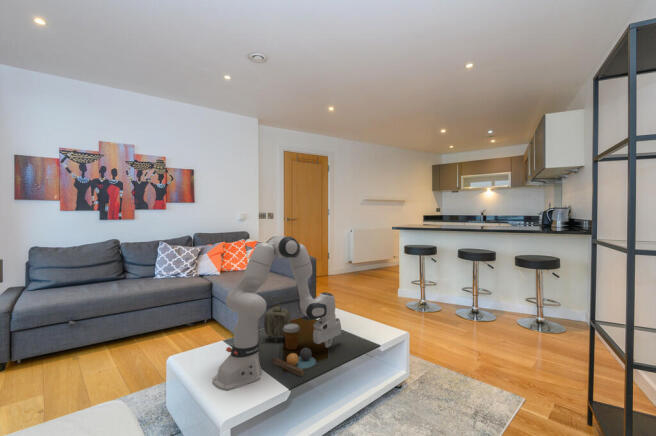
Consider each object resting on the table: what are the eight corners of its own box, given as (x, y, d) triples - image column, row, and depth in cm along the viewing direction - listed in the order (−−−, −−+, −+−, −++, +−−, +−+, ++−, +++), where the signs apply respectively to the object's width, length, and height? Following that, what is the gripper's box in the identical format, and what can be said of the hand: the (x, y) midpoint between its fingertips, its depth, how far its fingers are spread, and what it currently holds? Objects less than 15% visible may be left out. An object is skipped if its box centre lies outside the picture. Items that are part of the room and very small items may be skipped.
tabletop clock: (290, 337, 192) (290, 297, 192) (287, 343, 183) (286, 301, 183) (267, 337, 193) (267, 296, 193) (263, 343, 184) (262, 300, 184)
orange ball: (294, 369, 152) (290, 359, 151) (286, 367, 156) (282, 357, 156) (302, 362, 156) (298, 351, 156) (295, 359, 161) (291, 349, 160)
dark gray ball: (307, 348, 159) (315, 351, 163) (300, 344, 164) (308, 347, 167) (303, 360, 157) (311, 363, 161) (295, 356, 162) (303, 359, 165)
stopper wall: (300, 376, 145) (300, 371, 145) (273, 363, 158) (273, 358, 158) (303, 375, 146) (303, 369, 146) (276, 362, 160) (276, 357, 160)
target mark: (301, 371, 149) (301, 371, 149) (282, 363, 159) (282, 362, 159) (321, 361, 160) (321, 361, 160) (302, 353, 169) (302, 353, 169)
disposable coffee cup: (279, 348, 176) (279, 327, 176) (289, 342, 184) (289, 322, 184) (293, 352, 172) (293, 330, 172) (303, 345, 180) (302, 324, 180)
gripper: (335, 316, 184) (335, 339, 184) (311, 325, 169) (311, 351, 169) (343, 318, 180) (344, 342, 180) (319, 328, 165) (319, 354, 165)
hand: (328, 346), depth 174 cm, fingers closed
